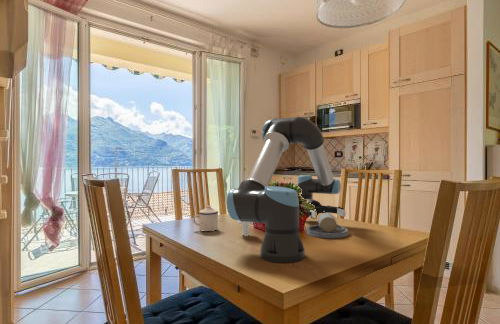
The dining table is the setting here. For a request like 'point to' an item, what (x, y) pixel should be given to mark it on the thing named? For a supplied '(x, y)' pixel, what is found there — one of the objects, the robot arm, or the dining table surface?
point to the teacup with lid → (208, 219)
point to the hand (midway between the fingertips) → (330, 214)
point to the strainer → (245, 227)
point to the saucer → (317, 232)
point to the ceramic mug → (328, 223)
